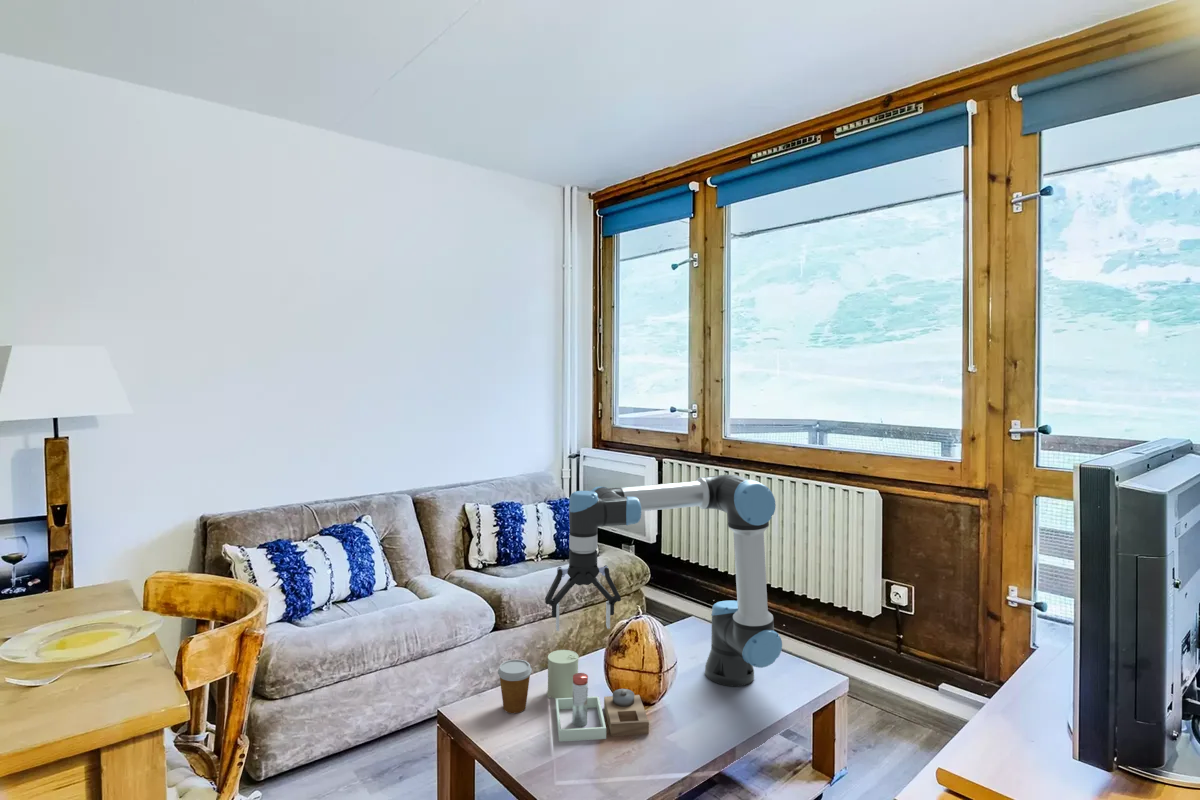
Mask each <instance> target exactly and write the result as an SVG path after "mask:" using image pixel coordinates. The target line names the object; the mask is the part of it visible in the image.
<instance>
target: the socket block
mask: <svg viewBox="0 0 1200 800" xmlns="http://www.w3.org/2000/svg"><path fill="white" fill-rule="evenodd" d="M603 710H604V713H605V717H606V720H607V721H606V722H607V725H608V730H609V733H610V734H609V735H610V737H618V736H619V737H620V736H622V737H623V736H636V735H649V734H650V729H649V728H650V721H649V718H648V716H647V713H646V709H645V707H644V704H643V702H642V699H641V696H640V694H635V693H634V691H632V690H631V689H629V688H628V689H627V688H619V689H615V690H614V691H613V692H612V695H611V696H609V695H606V696H604V697H603Z"/></svg>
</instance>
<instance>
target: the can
mask: <svg viewBox="0 0 1200 800" xmlns="http://www.w3.org/2000/svg"><path fill="white" fill-rule="evenodd" d="M579 656H580V655H579V654H578V653H577V652H576V651H573V650H569V649H557V650H553V651H551V652H550V653H549V654H547V694H546V695H547V698H548V699H549V700H551V699H550V698H552V699H554V700H556V698H573V675H574V674H576V673H579Z"/></svg>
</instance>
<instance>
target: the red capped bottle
mask: <svg viewBox="0 0 1200 800" xmlns="http://www.w3.org/2000/svg"><path fill="white" fill-rule="evenodd" d="M588 682H589V676H588V674H587V673H584V672H578V673H576V674H574V675H573V709H572V718H571V719H572V720H571V721H572V725H573V726H574V727H576V728H577V727H578V728H585V726H587V725H588V708H587V702H588V697H589V695H588V693H589V692H588V691H589V688H588V687H589V683H588Z"/></svg>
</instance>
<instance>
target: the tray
mask: <svg viewBox="0 0 1200 800" xmlns="http://www.w3.org/2000/svg"><path fill="white" fill-rule="evenodd" d="M600 699H601V698H600V696H599V695H598V696H588V702H587V709H592V708H594V709H595V708H597V709H596V711H597V715H598V719H599V723H600V726H596V727H578V728H577V727H576V728H562V724H561V716H560V710H570V709H571V710H573V698H556V699H555V716H556V727H557V728H556V729H557V735H558V737H557V738H558V742H573V741H574V742H577V741H592V740H593V741H594V740H607V727H606V722H605V721H606V720H605V717H604V712H603V709H602V705H601V704H602V703H601V701H600Z"/></svg>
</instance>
